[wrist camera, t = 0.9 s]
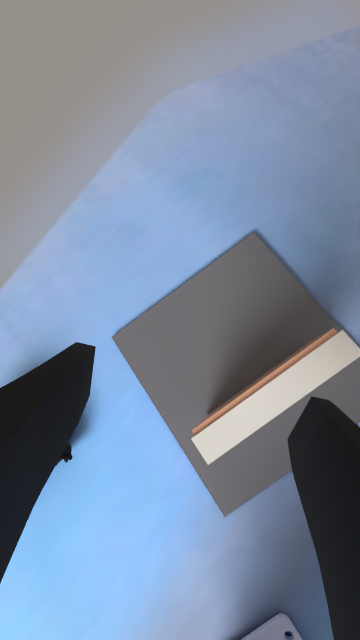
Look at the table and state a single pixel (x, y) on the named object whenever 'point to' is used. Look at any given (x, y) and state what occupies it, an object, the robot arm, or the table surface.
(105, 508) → the table surface
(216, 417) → the cream rectangular panel
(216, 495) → the mat
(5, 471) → the robot arm
